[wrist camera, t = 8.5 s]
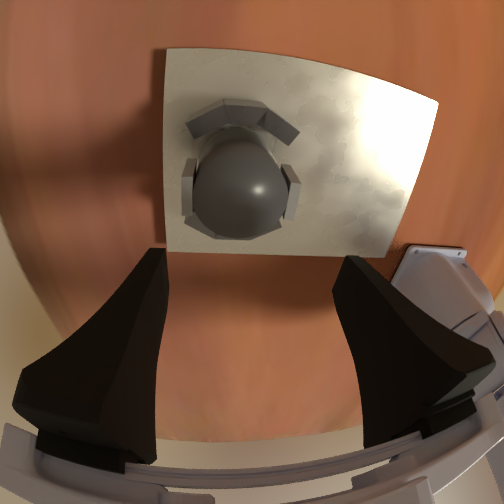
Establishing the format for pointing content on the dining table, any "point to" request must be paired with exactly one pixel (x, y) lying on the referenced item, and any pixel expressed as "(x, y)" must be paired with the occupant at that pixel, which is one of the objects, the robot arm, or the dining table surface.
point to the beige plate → (297, 147)
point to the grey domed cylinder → (238, 185)
